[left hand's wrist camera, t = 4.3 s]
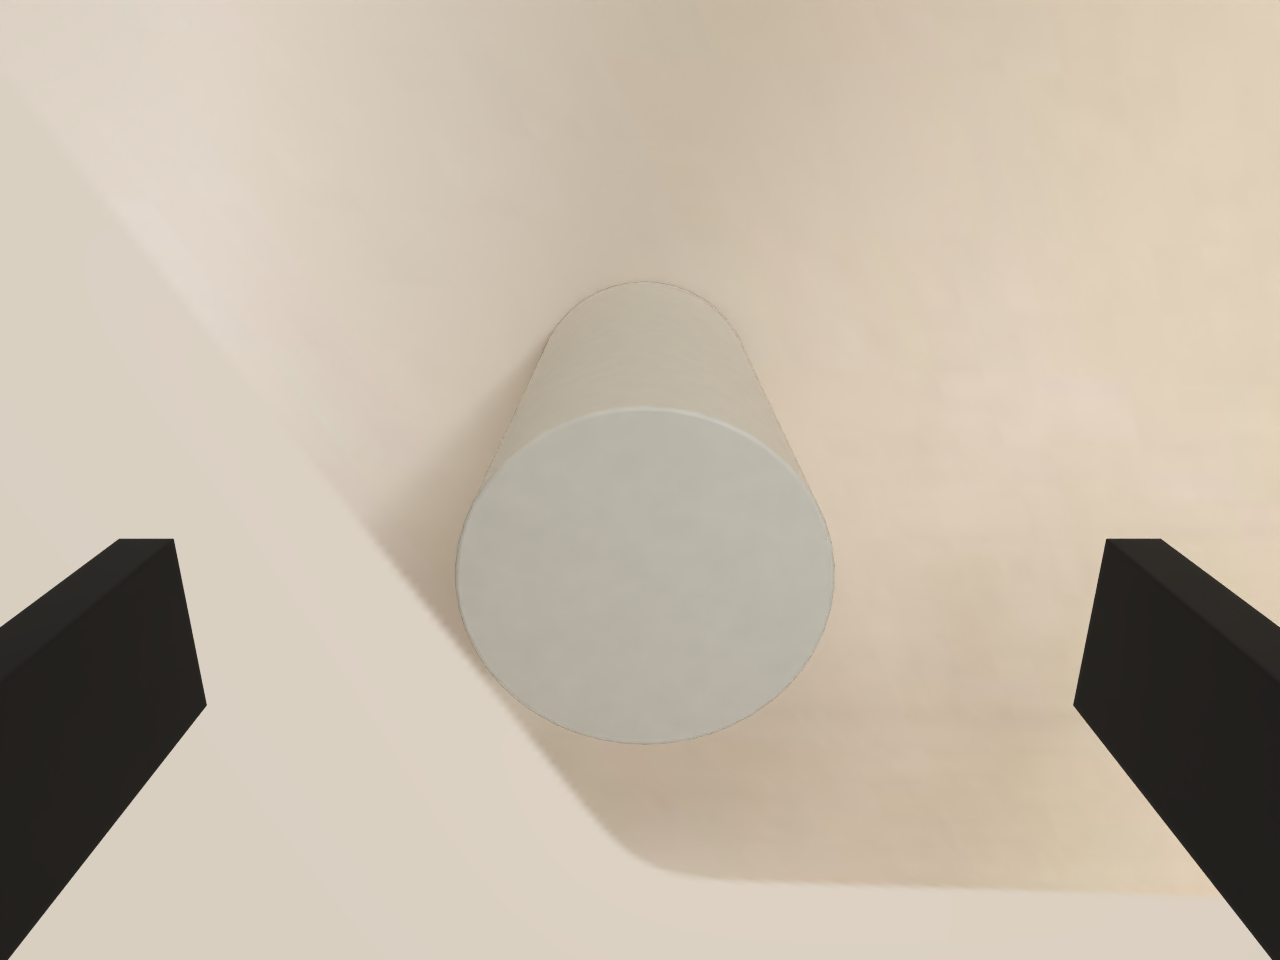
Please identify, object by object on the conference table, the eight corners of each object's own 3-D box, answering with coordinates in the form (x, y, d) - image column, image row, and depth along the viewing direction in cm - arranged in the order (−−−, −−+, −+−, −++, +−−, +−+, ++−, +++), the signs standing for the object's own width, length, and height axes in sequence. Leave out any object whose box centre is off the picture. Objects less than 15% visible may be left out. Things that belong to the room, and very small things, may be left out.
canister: (572, 508, 25) (520, 778, 14) (510, 313, 23) (399, 461, 12) (769, 459, 24) (865, 703, 14) (723, 256, 22) (794, 360, 12)
